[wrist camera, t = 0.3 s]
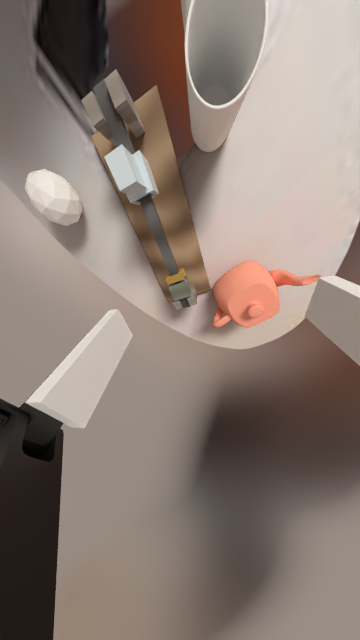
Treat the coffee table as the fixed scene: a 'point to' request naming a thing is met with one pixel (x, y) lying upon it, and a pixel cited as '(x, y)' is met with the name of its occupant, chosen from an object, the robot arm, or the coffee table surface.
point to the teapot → (252, 293)
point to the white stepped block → (131, 174)
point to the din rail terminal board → (171, 203)
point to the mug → (220, 62)
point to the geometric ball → (53, 197)
